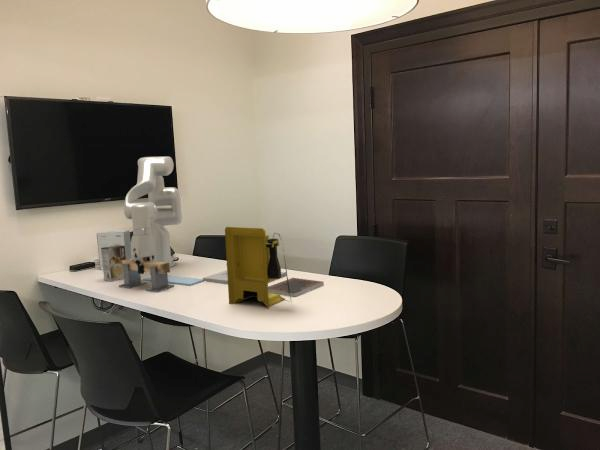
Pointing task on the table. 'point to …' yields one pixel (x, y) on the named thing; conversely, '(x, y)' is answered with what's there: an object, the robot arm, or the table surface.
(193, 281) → the pad
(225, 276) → the award plaque
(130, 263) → the rail
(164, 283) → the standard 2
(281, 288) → the picture frame
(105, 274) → the coffee box
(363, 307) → the table surface
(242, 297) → the vintage telephone
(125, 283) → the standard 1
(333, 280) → the table surface
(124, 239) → the hard drive box
